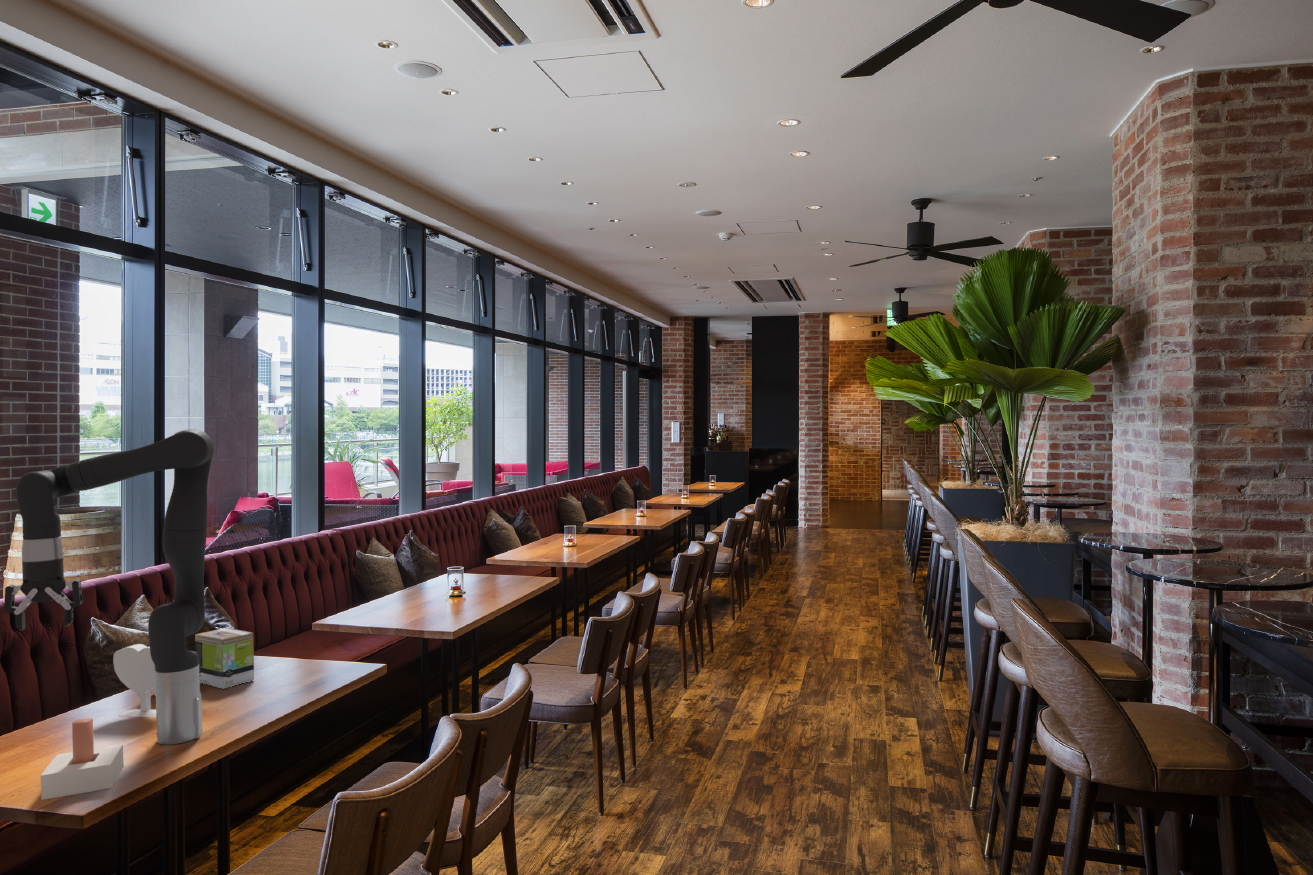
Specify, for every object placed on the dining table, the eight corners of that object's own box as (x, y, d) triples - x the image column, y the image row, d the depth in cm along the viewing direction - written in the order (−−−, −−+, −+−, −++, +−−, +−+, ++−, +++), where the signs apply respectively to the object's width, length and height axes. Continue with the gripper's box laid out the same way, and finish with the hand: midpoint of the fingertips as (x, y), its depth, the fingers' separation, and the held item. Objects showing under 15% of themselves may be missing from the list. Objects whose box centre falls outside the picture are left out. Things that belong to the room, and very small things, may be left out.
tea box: (255, 680, 239) (254, 631, 239) (222, 690, 231) (221, 639, 231) (227, 673, 247) (226, 626, 247) (194, 682, 239) (193, 633, 239)
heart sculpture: (178, 710, 214) (176, 643, 214) (164, 717, 209) (162, 648, 209) (127, 708, 217) (125, 642, 217) (112, 715, 212) (110, 647, 212)
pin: (93, 772, 173) (92, 716, 173) (94, 777, 170) (93, 721, 170) (73, 776, 171) (71, 720, 170) (73, 782, 168) (72, 725, 168)
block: (123, 766, 178) (122, 744, 178) (111, 787, 167) (110, 764, 167) (58, 776, 173) (57, 754, 173) (41, 799, 162) (40, 775, 162)
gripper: (-2, 562, 177) (0, 635, 178) (75, 557, 183) (78, 627, 183) (10, 558, 184) (12, 628, 184) (84, 552, 190) (86, 620, 190)
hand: (45, 627), depth 184 cm, fingers open, 8 cm apart
